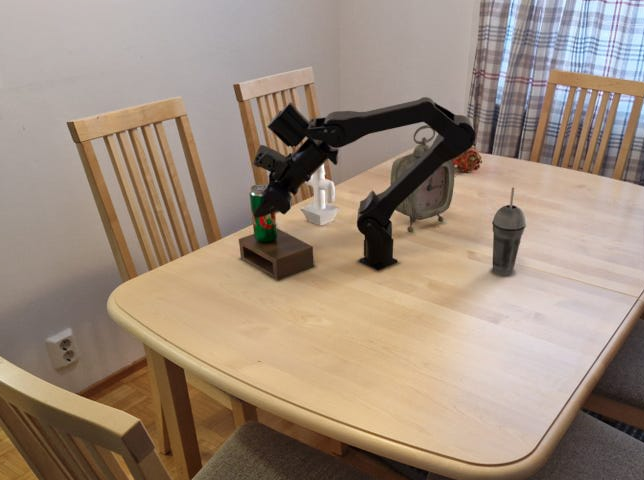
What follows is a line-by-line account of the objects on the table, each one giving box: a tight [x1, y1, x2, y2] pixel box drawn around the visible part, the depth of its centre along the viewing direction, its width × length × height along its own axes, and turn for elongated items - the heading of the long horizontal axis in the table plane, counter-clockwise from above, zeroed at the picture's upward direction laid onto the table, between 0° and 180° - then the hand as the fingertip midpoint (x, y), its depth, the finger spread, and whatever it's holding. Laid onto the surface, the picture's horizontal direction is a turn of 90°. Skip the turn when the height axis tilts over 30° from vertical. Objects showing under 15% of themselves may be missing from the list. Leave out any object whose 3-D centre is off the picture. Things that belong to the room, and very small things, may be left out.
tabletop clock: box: [389, 124, 455, 234], centre depth 160 cm, size 14×9×25 cm, turn 131°
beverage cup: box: [491, 187, 527, 277], centre depth 141 cm, size 7×7×20 cm
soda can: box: [249, 183, 278, 243], centre depth 141 cm, size 5×5×12 cm
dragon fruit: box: [452, 145, 483, 173], centre depth 201 cm, size 8×8×12 cm
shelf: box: [238, 227, 315, 281], centre depth 145 cm, size 14×10×5 cm
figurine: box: [299, 163, 341, 227], centre depth 162 cm, size 7×9×15 cm
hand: (256, 211), depth 140 cm, fingers closed on soda can, 5 cm apart
